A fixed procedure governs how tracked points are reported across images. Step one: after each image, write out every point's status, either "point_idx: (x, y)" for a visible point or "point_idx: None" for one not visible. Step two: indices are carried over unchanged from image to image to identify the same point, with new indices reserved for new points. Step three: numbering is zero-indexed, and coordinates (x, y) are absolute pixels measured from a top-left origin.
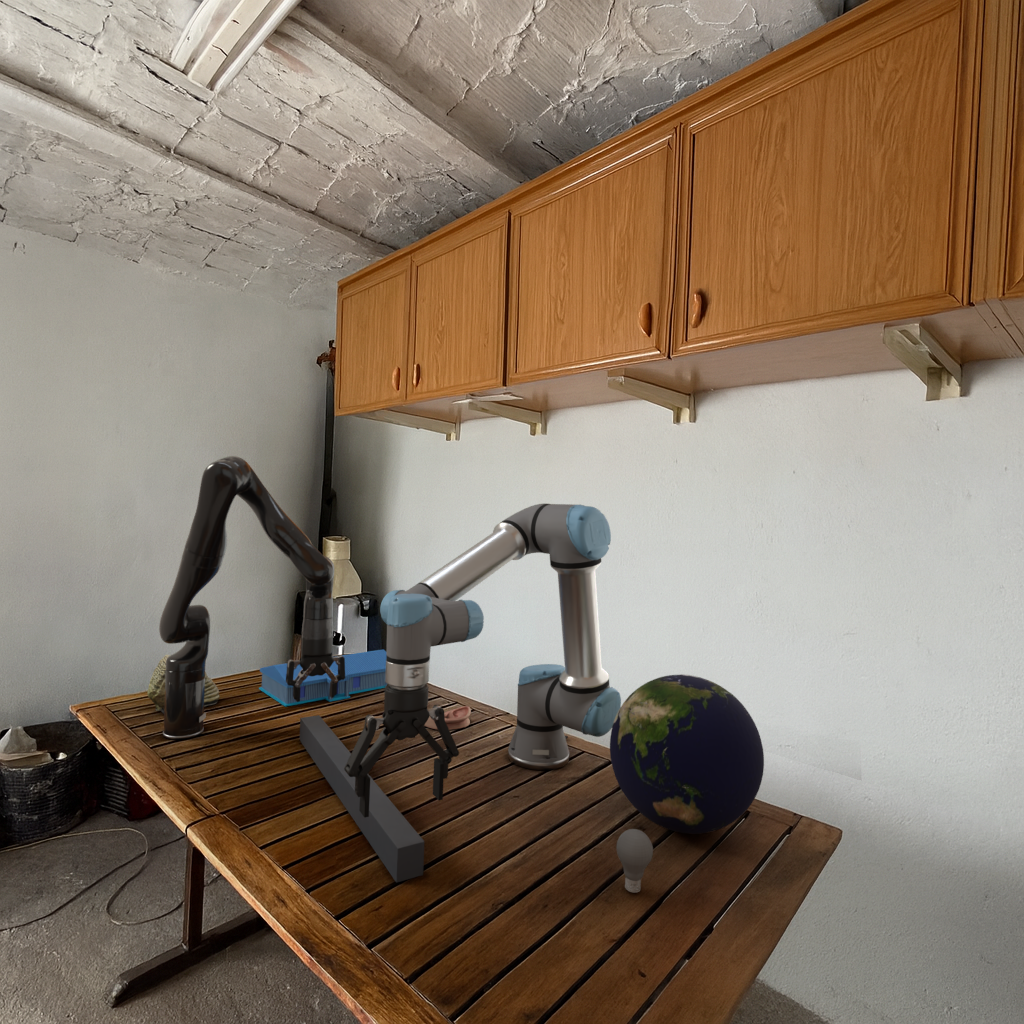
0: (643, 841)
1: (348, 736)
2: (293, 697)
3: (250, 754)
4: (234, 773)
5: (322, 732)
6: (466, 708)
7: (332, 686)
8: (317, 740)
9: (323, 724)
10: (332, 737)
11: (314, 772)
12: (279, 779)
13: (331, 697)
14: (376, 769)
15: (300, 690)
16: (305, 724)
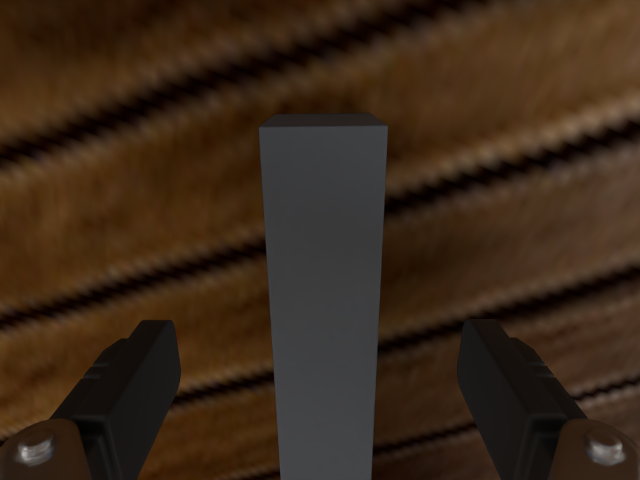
0: None
1: (505, 166)
2: (114, 349)
3: (46, 198)
4: (6, 346)
5: (325, 392)
6: None
7: (500, 470)
8: (280, 462)
9: (362, 296)
10: (350, 456)
11: (269, 430)
12: (157, 434)
13: (458, 371)
14: (454, 476)
15: (141, 468)
16: (267, 258)
